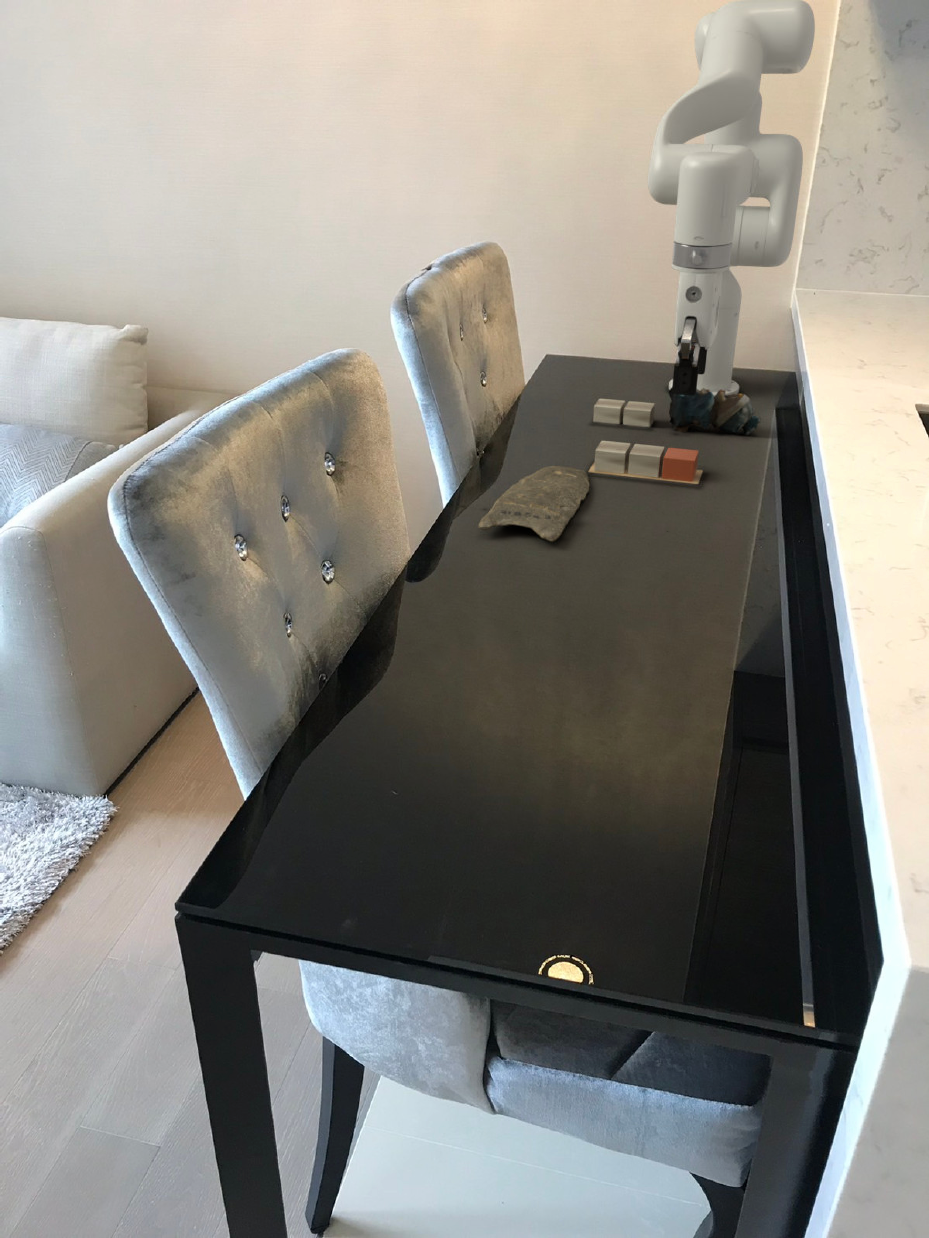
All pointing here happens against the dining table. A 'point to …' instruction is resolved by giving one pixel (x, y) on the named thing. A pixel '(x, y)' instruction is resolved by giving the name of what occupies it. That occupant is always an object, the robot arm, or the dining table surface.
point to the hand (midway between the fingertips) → (688, 383)
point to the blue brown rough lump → (712, 411)
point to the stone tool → (540, 501)
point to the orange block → (680, 464)
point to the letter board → (695, 480)
